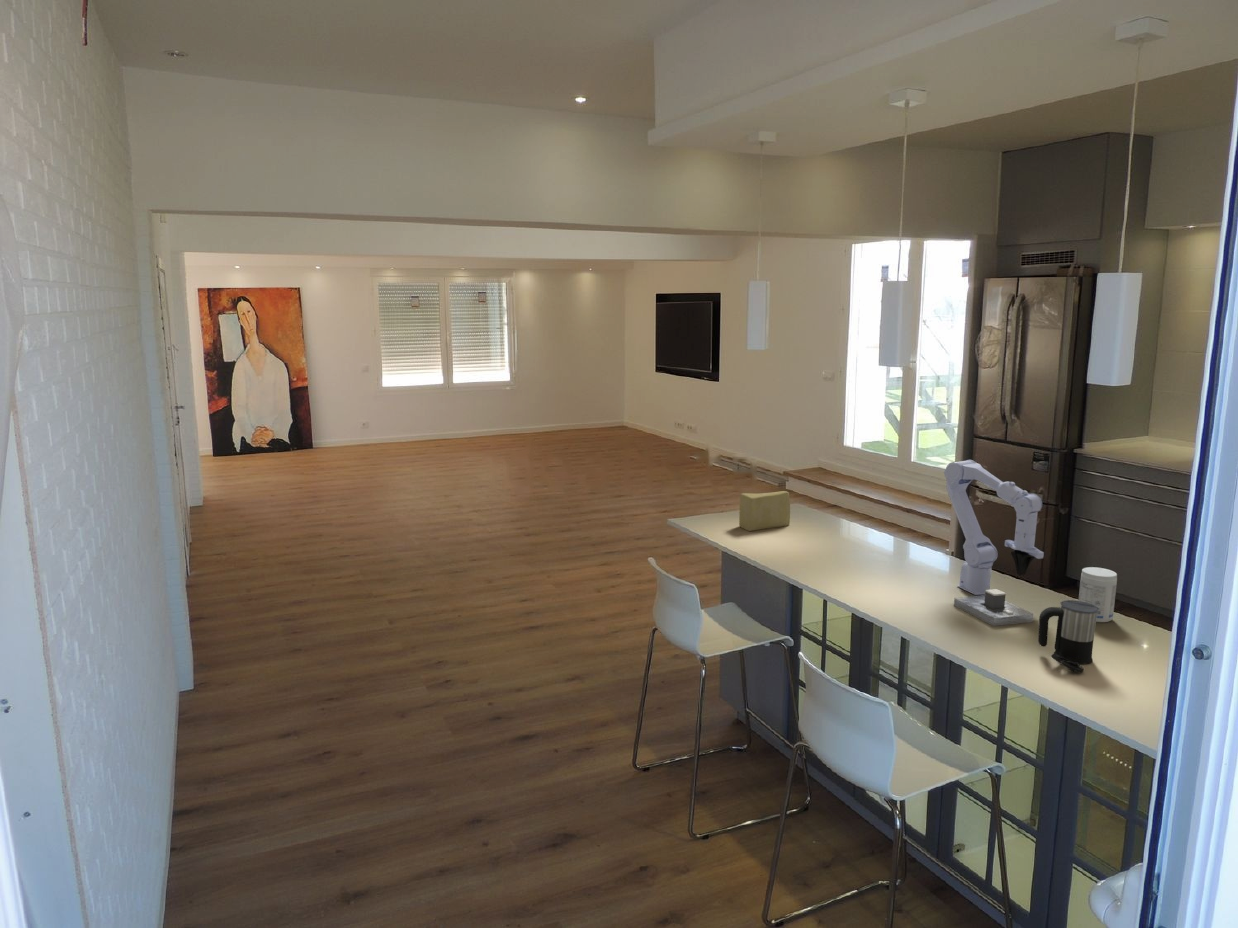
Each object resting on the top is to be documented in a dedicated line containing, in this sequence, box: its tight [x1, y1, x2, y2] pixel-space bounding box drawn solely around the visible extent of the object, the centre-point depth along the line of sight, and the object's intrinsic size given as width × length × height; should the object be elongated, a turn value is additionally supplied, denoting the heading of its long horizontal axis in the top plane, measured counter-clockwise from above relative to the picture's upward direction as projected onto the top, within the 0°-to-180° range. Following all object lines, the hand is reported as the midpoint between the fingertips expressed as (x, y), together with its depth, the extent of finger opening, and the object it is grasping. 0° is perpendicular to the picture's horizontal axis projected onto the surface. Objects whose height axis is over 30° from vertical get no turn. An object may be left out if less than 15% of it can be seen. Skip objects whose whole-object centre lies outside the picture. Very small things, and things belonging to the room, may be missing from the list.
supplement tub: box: [1077, 566, 1118, 623], centre depth 254 cm, size 10×10×15 cm
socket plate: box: [953, 594, 1034, 627], centre depth 258 cm, size 18×14×3 cm
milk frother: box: [1038, 599, 1099, 673], centre depth 221 cm, size 14×16×15 cm
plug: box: [984, 588, 1006, 610], centre depth 258 cm, size 4×4×6 cm
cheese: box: [738, 490, 791, 532], centre depth 357 cm, size 22×10×15 cm, turn 110°
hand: (1021, 574), depth 265 cm, fingers closed
